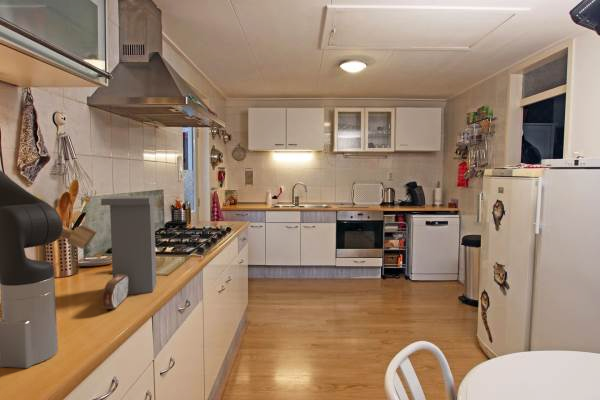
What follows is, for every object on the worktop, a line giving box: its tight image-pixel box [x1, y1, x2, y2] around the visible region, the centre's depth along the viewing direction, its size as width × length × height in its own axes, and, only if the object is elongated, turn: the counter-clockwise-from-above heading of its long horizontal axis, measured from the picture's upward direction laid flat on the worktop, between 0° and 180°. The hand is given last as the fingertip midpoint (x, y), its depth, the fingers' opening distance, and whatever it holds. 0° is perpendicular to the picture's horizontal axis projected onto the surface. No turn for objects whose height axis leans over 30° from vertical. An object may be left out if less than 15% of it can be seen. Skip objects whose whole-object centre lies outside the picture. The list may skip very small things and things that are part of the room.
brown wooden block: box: [60, 224, 98, 250], centre depth 115 cm, size 8×17×5 cm, turn 106°
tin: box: [101, 274, 129, 310], centre depth 108 cm, size 15×3×8 cm, turn 8°
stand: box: [100, 195, 157, 295], centre depth 120 cm, size 14×14×32 cm
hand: (56, 222), depth 114 cm, fingers closed on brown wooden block, 2 cm apart
